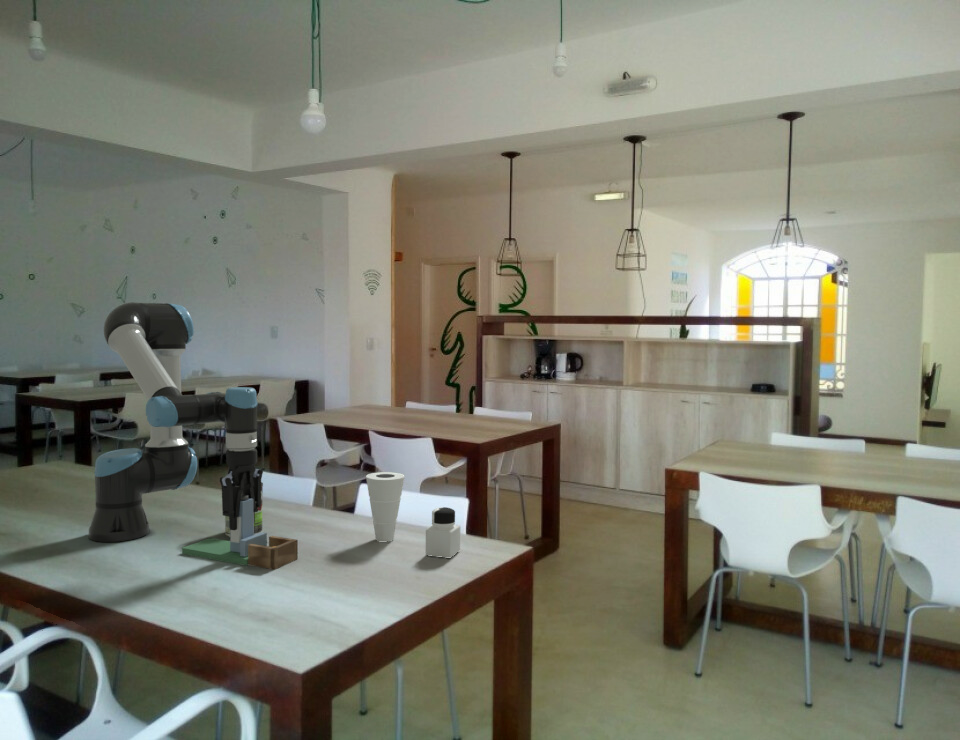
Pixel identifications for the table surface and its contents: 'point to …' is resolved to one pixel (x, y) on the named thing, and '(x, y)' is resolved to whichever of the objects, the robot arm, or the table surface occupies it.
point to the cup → (385, 502)
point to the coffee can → (257, 519)
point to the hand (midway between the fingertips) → (242, 539)
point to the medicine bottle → (443, 533)
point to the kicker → (247, 528)
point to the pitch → (215, 551)
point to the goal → (273, 553)
